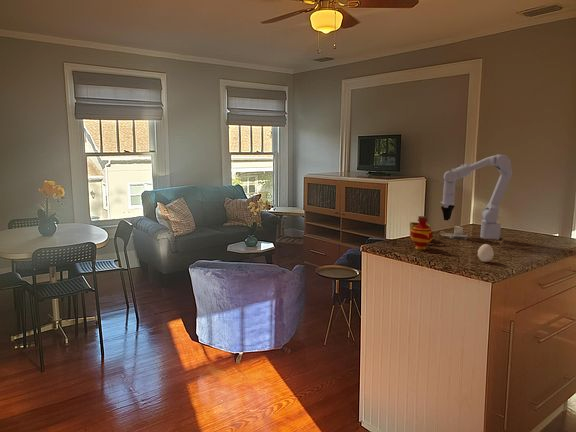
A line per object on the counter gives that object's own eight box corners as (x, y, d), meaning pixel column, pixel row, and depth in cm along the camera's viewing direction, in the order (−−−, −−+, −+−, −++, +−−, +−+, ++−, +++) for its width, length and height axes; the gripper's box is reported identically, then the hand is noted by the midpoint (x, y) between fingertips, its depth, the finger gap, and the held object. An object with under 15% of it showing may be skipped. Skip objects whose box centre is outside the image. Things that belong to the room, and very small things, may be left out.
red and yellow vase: (432, 246, 215) (434, 215, 212) (431, 251, 205) (433, 219, 203) (409, 244, 218) (411, 214, 216) (408, 249, 209) (410, 217, 206)
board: (470, 238, 236) (471, 234, 236) (465, 245, 219) (466, 241, 219) (443, 235, 243) (443, 231, 243) (436, 242, 225) (436, 237, 225)
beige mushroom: (464, 237, 234) (465, 226, 233) (463, 239, 229) (464, 228, 228) (452, 235, 237) (453, 225, 236) (450, 237, 231) (451, 227, 231)
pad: (452, 234, 240) (452, 234, 240) (451, 236, 235) (451, 236, 235) (442, 233, 242) (442, 233, 242) (441, 235, 238) (441, 235, 237)
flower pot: (425, 239, 230) (427, 222, 229) (429, 243, 222) (430, 225, 220) (408, 239, 231) (409, 222, 230) (411, 242, 223) (412, 225, 221)
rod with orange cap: (468, 236, 228) (468, 233, 228) (467, 237, 226) (467, 234, 226) (440, 233, 235) (440, 230, 234) (439, 234, 233) (439, 231, 232)
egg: (474, 261, 190) (475, 243, 188) (483, 259, 193) (484, 242, 191) (486, 264, 184) (488, 246, 183) (495, 262, 188) (497, 244, 186)
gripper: (443, 192, 243) (441, 217, 245) (438, 194, 230) (436, 220, 233) (457, 193, 240) (455, 218, 242) (452, 195, 227) (450, 222, 229)
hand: (446, 219), depth 237 cm, fingers open, 4 cm apart
